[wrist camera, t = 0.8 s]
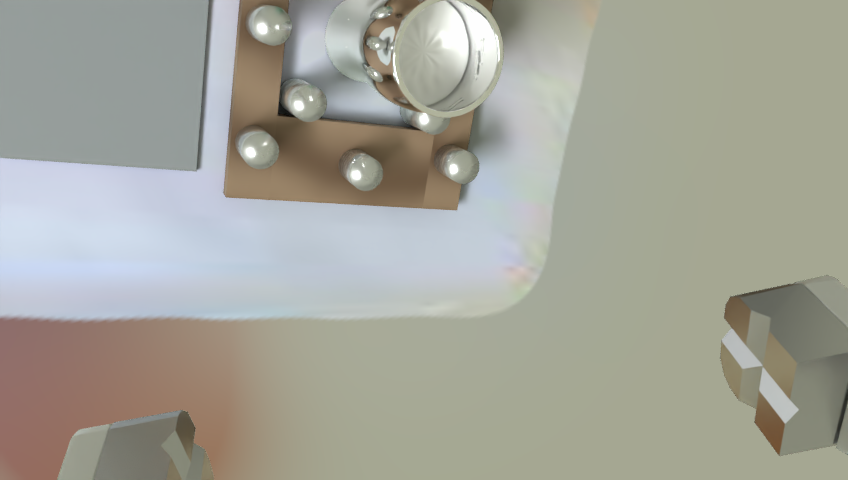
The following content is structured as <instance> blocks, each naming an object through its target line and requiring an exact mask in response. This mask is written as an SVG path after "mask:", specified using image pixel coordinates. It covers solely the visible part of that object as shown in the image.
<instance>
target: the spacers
mask: <svg viewBox="0 0 848 480" xmlns="http://www.w3.org/2000/svg"><path fill="white" fill-rule="evenodd" d="M246 28H247V31H248V33H249V34H250V35H251V37H253V38H254V39H255V40H257V41H260V42H262V43H265V44H267V45H272V46H275V45H280V44H282V43H284V42H285V41H286V40H287V39H288V38H289V36H290V34H291V30H292V23H291V19H290V17H289V15H288V14H287V13H286V12H285V11H284V10H283V9H282V8H280V7H277V6H271V5H264V4H262V5H257V6H255V7H253V8H252V9H251V10H250V11H249V12H248V14H247V16H246ZM279 101H280V103H281V105H282V106H283V107H284V108H285V109H286V110H287V111H289V112H290V113H291V114H293V115H294V116H296V117H297V118H298V119H300V120H302V121H305V122H313V121H316V120H318V119H319V118H320V117H322V115H323V114H324V112H325V110H326V106H327V101H326V97H325V95H324V93H323V92H322V91H321V90H320V89H319V88H317V87H315V86H313V85H311V84H309V83H307V82H305V81H303V80H301V79H296V78H295V79H290V80H287V81H286V82H285V83H283V85H282V86H281V88H280V95H279ZM400 114H401V117H402V119H403V120H404V121H405V122H406V123H407V124H409V125H412V126H414V127H416V128H418V129H420V130H422V131H424V132H426V133H428V134H432V135H436V134H440V133H442V132H443V131H444V130H445V129H446V128H447V127H448V125H449V123H450V119H451V117H450V118H442V117H435V116H431V115H428V114H423V113H419V112H414V111H411V110H408V109H405V108H402V107H400ZM235 146H236V149H237V151H238V153H239V154H240V155H241V157H242V158H243V159H244V160H245V162H246V163H247V164H248V165H249V166H251V167H252V168H255V169H266V168H268V167H270V166H272V165H273V164H274V163H275V162H276V160H277V158H278V155H279V147H278V144H277V142H276V141H275V139H274V138H273V137H272V136H271V135H270V134H268V133H267V132H266V131H265V130H264V129H263V128H261V127H259V126H255V125H250V126H246V127H244V128H243V129H241V130H240V131H239V132H238V134H237V136H236V139H235ZM434 165H435V168H436V169H437V171H438V172H440V173H441V174H443V175H445V176H446V177H448V178H450V179H452V180H453V181H455V182H457V183H459V184H467V183H469V182H471V181H472V180H474V179H475V177H476V176H477V174H478V172H479V161H478V159H477V157H476V156H475V155H474V154H472V153H470V152H468V151H466V150H463V149H461V148H459V147H457V146H455V145H452V144H447V145H444V146H442V147H441V148H439V149H438V151H437V152H436V154H435V157H434ZM339 171H340V173H341V175H342V176H343V177H344V178H345V179H346V180H348V181H349V182H350V183H351V184H352V185H354V186H355V187H356V188H357V189H359V190H362V191H369V190H372V189H374V188H376V187H377V186H378V185H379V184H380V182H381V180H382V177H383V169H382V166H381V164H380V163H379V162H378V161H377V160H376V159H374V158H373V157H371V156H370V155H368V154H367V153H365V152H363V151H362V150H359V149H351V150H348V151H346V152H345V153H344V154H343V155H342V156H341V158H340V160H339Z"/></svg>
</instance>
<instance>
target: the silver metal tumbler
mask: <svg viewBox="0 0 848 480" xmlns="http://www.w3.org/2000/svg"><path fill="white" fill-rule="evenodd" d="M325 46H326V50H327V53H328V56H329V58H330V60H331V62H332V63H333V65H334V66H335V67H336V69H337V70H338V71H339V72H340V73H342V74H343V75H344V76H346V77H348V78H350V79H352V80H355V81H359V82H367V83H368V84H369V86H370V87H371V88H372V89H374V90H375V91H376V92H377V93H378V94H379V95H380V96H382V97H383V98H384V99H386V100H388V101H390V102H392V103H393V104H395V105H397V106H399V107H402V108H405V109H408V110H411V111H414V112H419V113H423V114H428V115H431V116H435V117H442V118H450V117H456V116H460V115H463V114H466V113H468V112H470V111H472V110H474V109H475V108H477V107H478V106H479V105H480V104H482V103H483V102H484V101H485V100H486V99H487V97H488V96H489V95H490V94H491V92H492V91H493V89H494V87H495V86H496V84H497V82H498V79H499V77H500V74H501V70H502V65H503V57H504V48H503V40H502V36H501V32H500V29H499V27H498V25H497V23H496V21H495V19H494V18H493V16H492V15H491V13H490V12H489V11H488V10H487V9H486V8H485V7H484V6H483V5H482V4H480V3H479V2H477V1H476V0H344V1H343V2H342V3H340V4H339V5H338V6H337V7H336V8H335V10H334V11H333V12H332V14H331V16H330V18H329V20H328V22H327V26H326V30H325Z"/></svg>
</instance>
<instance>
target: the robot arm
mask: <svg viewBox="0 0 848 480" xmlns="http://www.w3.org/2000/svg"><path fill="white" fill-rule="evenodd" d="M724 319H725V320H726V321H727V322H728V324H729V325H730V326H731V330H730V331H729V332H728V333H727V334H726V336H725V337H724V338H723V339H722V340H721V353H720V359H721V364H722V368H723V373H724V376H725V378H726V380H727V382H728V385H729V387H730V389H731V390H732V391H733V393H734V394H735V396H736V397H737V399H738V400H739V401H741V402H743V403H745V404H747V405H749V406H751V407H753V408H755V409H756V415H755V424H756V425H757V426H758V428H759V429H760V431H761V432H762V433H763V434H764V436H765V437H766V439H767V440H768V441H769V443H770V444H771V445H772V447H773V448H774V450H775V451H776V452H777V454H778V455H779V456H783V455H788V454H793V453H798V452H803V451H808V450H814V449H819V448H824V447H830V446H835V445H837V446H836V448H837V449H838V450H840V451H842V452H843V453H845V454H847V455H848V289H847V288H846V287H845V286H844V285H843V284H842V283H841V282H840V281H839V280H838V279H836V278H834V277H831V276H828V275H825V276H820V277H816V278H811V279H807V280H803V281H798V282H795V283H793V284H787V285H782V286H777V287H773V288H768V289H763V290H759V291H754V292H749V293H745V294H740V295H735V296H731V297H730V298H729V300H728V301H727V303H726V306H725V313H724ZM194 435H195V426H194V424H193V422H192V420H191V418H190V416H189V414H188V412H186V411H183V410H180V411H175V412H169V413H163V414H158V415H152V416H147V417H142V418H136V419H131V420H125V421H120V422H114V423H113V424H108V425H102V426H96V427H91V428H85V429H80V430H78V431H77V433H75V434H74V435H73V437H72V438H71V441H70V443H69V446H68V449H67V453H66V455H65V458H64V461H63V464H62V467H61V470H60V473H59V476H58V479H57V480H214V477H213V472H212V468H211V464H210V461H209V458H208V456H207V453H206V451H205V449H203V448H202V447H200V446H198V445H196V444H194Z"/></svg>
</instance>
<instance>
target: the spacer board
mask: <svg viewBox="0 0 848 480" xmlns="http://www.w3.org/2000/svg"><path fill="white" fill-rule="evenodd" d="M476 1H477V2H479V3H480V4H482V5H483V6H484V7H485V8H486V9H487V10H488V11H489V12H490V13H491V10H492V5H493V0H476ZM262 4H264V5H271V6H277V7H280V8H282V9H283V10H284V11H285V12H286V13H287V14H288V6H289V0H240V3H239V15H238V26H237V38H236V50H235V62H234V74H233V86H232V98H231V110H230V122H229V134H228V146H227V158H226V170H225V181H224V195H225V197H229V198H247V199H265V200H283V201H300V202H318V203H336V204H354V205H372V206H389V207H407V208H425V209H443V210H457V207H458V202H459V196H460V190H461V184H459V183H457V182H455V181H453V180H452V179H450V178H448V177H446V176H445V175H443V174H441V173H440V172H438V171H437V169H436V168H435V165H434V157H435V154H436V152H437V151H438V149H439V148H441V147H442V146H444V145H447V144H452V145H455V146H457V147H459V148H461V149H463V150H466V151H467V149H468V144H469V138H470V132H471V126H472V120H473V115H474V110H472V111H470V112H468V113H466V114H463V115H460V116H456V117H451V119H450V123H449V125H448V127H447V128H446V129H445V130H444V131H443V132H442V133H440V134H436V135H432V134H428V133H426V132H424V131H422V130H420V129H418V128H410V127H401V126H391V125H381V124H372V123H362V122H353V121H343V120H333V119H324V118H319V119H318V120H316V121H313V122H305V121H302V120H300V119H298V118H297V117H296V116H294V115H285V114H278V105H279V95H280V85H281V75H282V65H283V55H284V45H285V42H284V43H282V44H280V45H275V46H272V45H267V44H265V43H262V42H260V41H257V40H255V39H254V38H253V37H251V35H250V34H249V33H248V31H247V28H246V16H247V14H248V12H249V11H250V10H251V9H252V8H253V7H255V6H257V5H262ZM250 125H255V126H259V127H261V128H263V129H264V130H265V131H266V132H267V133H268V134H270V135H271V136H272V137H273V138H274V139H275V141H276V142H277V144H278V147H279V155H278V158H277V160H276V162H275V163H274V164H273V165H272V166H270V167H268V168H266V169H255V168H252V167H251V166H249V165H248V164H247V163H246V162H245V160H244V159H243V158H242V157H241V155H240V154H239V153H238V151H237V149H236V146H235V139H236V136H237V134H238V132H239V131H240V130H241V129H243V128H244V127H246V126H250ZM351 149H359V150H362V151H363V152H365V153H367V154H368V155H370V156H371V157H373V158H374V159H376V160H377V161H378V162H379V163H380V164H381V166H382V169H383V177H382V180H381V182H380V184H379V185H378V186H377V187H376V188H374V189H372V190H369V191H362V190H359V189H357V188H356V187H355V186H354V185H352V184H351V183H350V182H349V181H348V180H346V179H345V178H344V177H343V176H342V175H341V173H340V171H339V160H340V158H341V156H342V155H343V154H344V153H345V152H346V151H348V150H351Z"/></svg>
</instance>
